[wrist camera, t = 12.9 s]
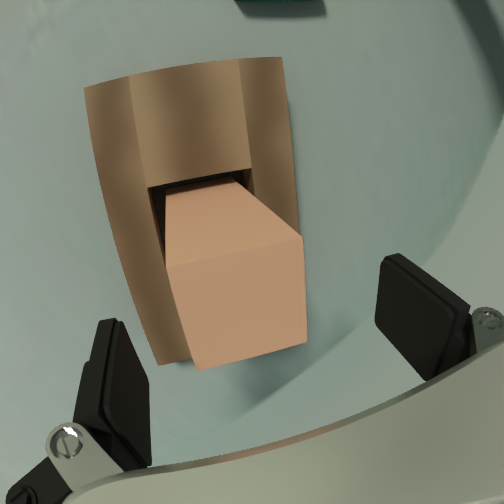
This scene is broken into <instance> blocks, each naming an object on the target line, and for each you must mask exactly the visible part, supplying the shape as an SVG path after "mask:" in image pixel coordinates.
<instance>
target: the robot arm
mask: <svg viewBox="0 0 504 504" xmlns="http://www.w3.org/2000/svg"><path fill="white" fill-rule="evenodd" d="M469 310H470V305H469V304H467V303H466V302H465V301H464V300H462V299H461V298H460V297H459V296H457V295H456V294H455V293H453V292H452V291H451V290H449V289H448V288H447V287H445V286H444V285H443V284H441V283H440V282H439V281H437V280H436V279H435V278H433V277H432V276H431V275H429V274H428V273H426V272H425V271H424V270H422V269H421V268H420V267H418V266H417V265H415V264H414V263H413V262H411V261H410V260H408V259H407V258H406V257H404V256H403V255H401V254H399V253H396V254H393V255H389V256H386V257H385V258H384V259H383V261H382V262H381V265H380V275H379V285H378V294H377V303H376V311H375V324H376V326H377V327H378V329H379V330H380V331H381V332H382V333H383V334H384V335H385V336H386V338H388V340H389V341H390V342H391V343H392V344H393V345H394V347H395V348H396V349H397V350H398V351H399V352H400V353H401V354H402V356H403V357H404V358H405V359H406V360H407V361H408V362H409V364H410V365H411V366H412V367H413V368H414V369H415V370H416V372H417V373H418V374H419V375H420V376H421V377H422V379H423V380H425V381H427V382H425V383H423V384H421V385H419V386H417V387H415V388H413V389H411V390H409V391H407V392H405V393H403V394H401V395H399V396H397V397H395V398H392V399H390V400H388V401H386V402H384V403H381V404H379V405H377V406H375V407H372V408H370V409H368V410H365V411H363V412H360V413H358V414H355V415H353V416H350V417H348V418H345V419H343V420H340V421H337V422H334V423H332V424H329V425H326V426H324V427H321V428H318V429H315V430H312V431H309V432H306V433H303V434H300V435H296V436H294V437H290V438H287V439H284V440H280V441H277V442H273V443H269V444H266V445H262V446H258V447H255V448H250V449H246V450H242V451H238V452H233V453H229V454H224V455H219V456H214V457H210V458H204V459H199V460H194V461H188V462H182V463H176V464H169V465H163V466H157V467H150V468H147V466H151V465H152V456H151V437H150V404H149V381H148V378H147V375H146V373H145V371H144V369H143V367H142V364H141V362H140V360H139V358H138V356H137V353H136V351H135V349H134V347H133V344H132V342H131V340H130V337H129V335H128V333H127V330H126V328H125V325H124V323H123V322H122V321H119V322H118V320H117V319H116V318H111V319H106V320H100V321H99V323H98V327H97V331H96V335H95V339H94V343H93V347H92V351H91V355H90V360H89V361H87V362H86V363H85V364H84V367H83V372H82V376H81V381H80V385H79V390H78V395H77V400H76V406H75V411H74V417H73V423H64V424H61V425H59V426H57V427H55V428H54V429H53V430H52V431H51V432H50V434H49V436H48V437H47V440H46V452H47V454H48V457H46V458H45V459H44V460H43V461H42V462H41V463H39V464H38V465H37V466H36V467H35V468H33V469H32V470H31V471H30V472H29V473H27V474H26V475H25V476H24V477H23V478H21V479H20V480H19V481H18V482H17V483H16V484H14V485H13V486H12V487H11V488H10V490H9V491H8V493H7V495H6V504H504V316H503V315H502V314H501V313H500V312H499V311H497V310H495V309H493V308H488V307H481V308H477V309H476V310H474V312H473V313H472V315H471V314H469Z"/></svg>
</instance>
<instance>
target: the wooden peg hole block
mask: <svg viewBox="0 0 504 504" xmlns="http://www.w3.org/2000/svg"><path fill="white" fill-rule="evenodd" d="M84 92H85V100H86V108H87V115H88V121H89V128H90V134H91V140H92V145H93V151H94V156H95V161H96V166H97V171H98V176H99V180H100V185H101V189H102V194H103V198H104V202H105V206H106V210H107V214H108V218H109V222H110V226H111V229H112V233H113V237H114V240H115V244H116V247H117V251H118V254H119V258H120V261H121V264H122V267H123V271H124V274H125V277H126V280H127V283H128V286H129V289H130V292H131V295H132V298H133V301H134V304H135V307H136V310H137V312H138V315H139V318H140V321H141V323H142V326H143V329H144V331H145V334H146V337H147V339H148V342H149V344H150V347H151V349H152V352H153V354H154V357H155V359H156V362H157V364H158V366H159V365H164V364H169V363H174V362H179V361H184V360H189V359H193V358H192V355H191V352H190V349H189V346H188V343H187V340H186V336H185V333H184V330H183V327H182V323H181V320H180V317H179V313H178V310H177V306H176V303H175V299H174V296H173V292H172V289H171V285H170V281H169V278H168V274H167V270H166V251H165V247H164V243H163V238H162V234H161V230H160V225H159V221H158V216H157V212H156V207H155V202H154V198H153V193H152V188H151V187H153V186H158V185H162V184H167V183H172V182H177V181H181V180H186V179H192V178H197V177H202V176H207V175H213V174H218V173H224V172H230V171H236V170H241V172H242V180H243V187H244V188H245V189H246V190H247V191H248V192H250V193H251V194H252V195H253V196H254V197H256V198H257V199H258V200H259V201H260V202H262V203H263V204H264V205H265V206H266V207H268V208H269V209H270V210H271V211H272V212H274V213H275V214H276V215H277V216H278V217H279V218H281V219H282V220H283V221H284V222H285V223H287V224H288V225H289V226H290V227H291V228H292V229H294V230H295V231H296V232H297V233H298V234H299V223H298V209H297V196H296V184H295V172H294V161H293V150H292V140H291V130H290V121H289V111H288V102H287V94H286V86H285V77H284V70H283V62H282V57H262V58H245V59H232V60H222V61H212V62H204V63H196V64H189V65H183V66H176V67H170V68H165V69H159V70H154V71H149V72H144V73H140V74H135V75H131V76H126V77H122V78H118V79H114V80H110V81H107V82H103V83H99V84H96V85H92V86H89V87H86V88H84Z"/></svg>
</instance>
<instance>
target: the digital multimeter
mask: <svg viewBox="0 0 504 504" xmlns="http://www.w3.org/2000/svg"><path fill="white" fill-rule="evenodd" d="M241 1H299V0H241Z"/></svg>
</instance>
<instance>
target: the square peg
mask: <svg viewBox="0 0 504 504" xmlns="http://www.w3.org/2000/svg"><path fill="white" fill-rule="evenodd" d="M165 240H166V270H167V274H168V278H169V281H170V285H171V289H172V292H173V296H174V299H175V303H176V306H177V310H178V313H179V317H180V320H181V323H182V327H183V330H184V333H185V336H186V340H187V343H188V346H189V349H190V352H191V355H192V358H193V361H194V364H195V367H196V370H197V371H198V370H202V369H207V368H211V367H216V366H220V365H224V364H228V363H232V362H236V361H240V360H244V359H248V358H252V357H256V356H259V355H263V354H267V353H270V352H274V351H278V350H281V349H285V348H288V347H291V346H295V345H298V344H301V343H305V342H307V315H306V288H305V266H304V248H303V237H302V236H300V235H299V234H298V233H297V232H296V231H295V230H294V229H292V228H291V227H290V226H289V225H288V224H287V223H285V222H284V221H283V220H282V219H281V218H279V217H278V216H277V215H276V214H275V213H274V212H272V211H271V210H270V209H269V208H268V207H266V206H265V205H264V204H263V203H262V202H260V201H259V200H258V199H257V198H256V197H254V196H253V195H252V194H251V193H250V192H248V191H247V190H246V189H245V188H244V187H242V186H241V185H240V184H239V183H237V182H236V181H235V180H234V179H233V178H231V177H225V178H220V179H214V180H209V181H204V182H199V183H193V184H188V185H184V186H179V187H174V188H169V189H166V230H165Z"/></svg>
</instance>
